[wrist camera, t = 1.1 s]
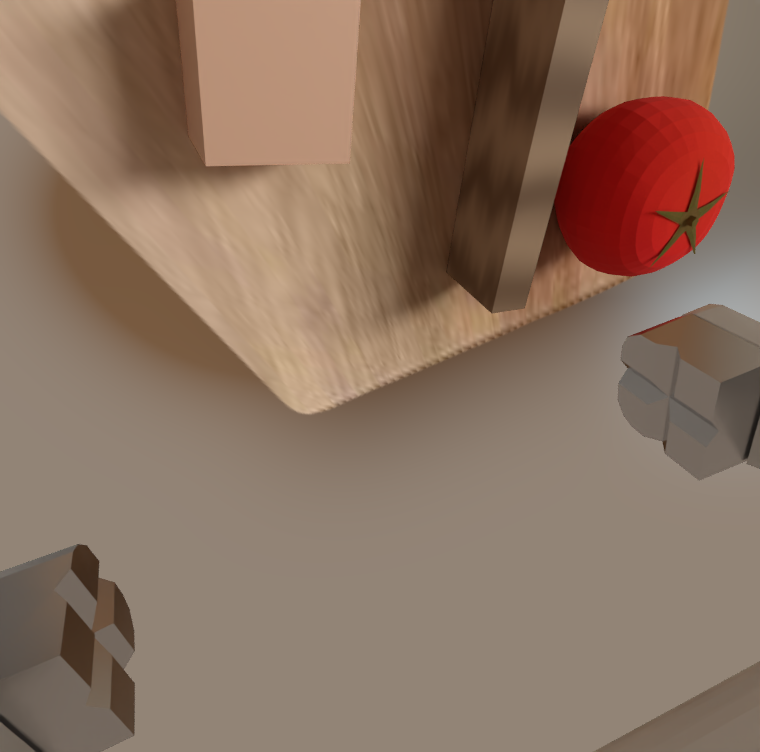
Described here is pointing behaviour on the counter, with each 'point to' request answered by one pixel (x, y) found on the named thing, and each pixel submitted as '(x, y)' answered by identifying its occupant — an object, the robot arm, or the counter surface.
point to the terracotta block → (269, 79)
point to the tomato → (643, 185)
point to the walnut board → (520, 142)
